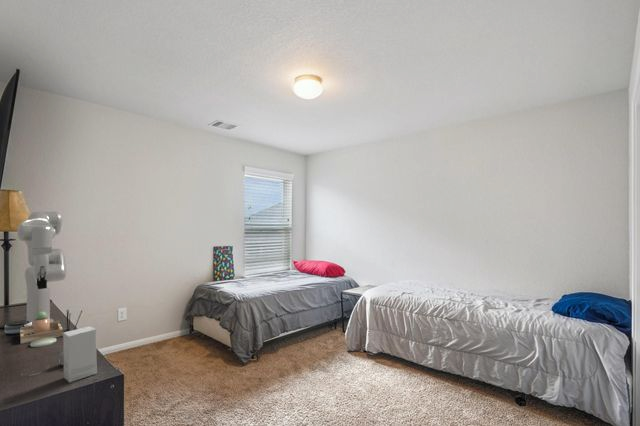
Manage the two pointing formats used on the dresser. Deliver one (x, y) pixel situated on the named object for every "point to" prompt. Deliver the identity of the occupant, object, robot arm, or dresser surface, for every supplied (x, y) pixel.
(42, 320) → the terracotta pot
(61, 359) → the reed diffuser
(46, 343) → the pale mint disc
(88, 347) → the skincare box
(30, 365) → the dresser surface
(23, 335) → the wooden frame
